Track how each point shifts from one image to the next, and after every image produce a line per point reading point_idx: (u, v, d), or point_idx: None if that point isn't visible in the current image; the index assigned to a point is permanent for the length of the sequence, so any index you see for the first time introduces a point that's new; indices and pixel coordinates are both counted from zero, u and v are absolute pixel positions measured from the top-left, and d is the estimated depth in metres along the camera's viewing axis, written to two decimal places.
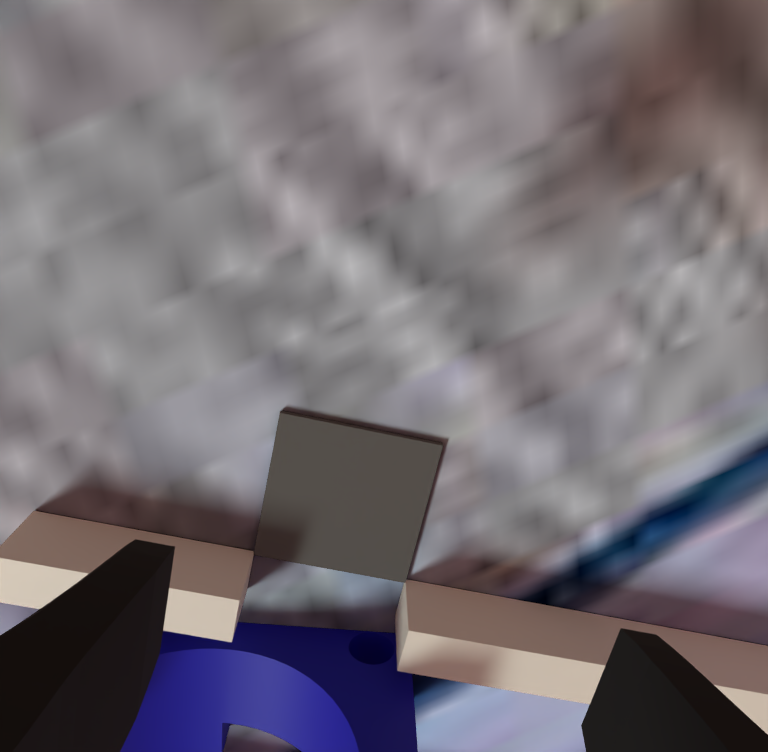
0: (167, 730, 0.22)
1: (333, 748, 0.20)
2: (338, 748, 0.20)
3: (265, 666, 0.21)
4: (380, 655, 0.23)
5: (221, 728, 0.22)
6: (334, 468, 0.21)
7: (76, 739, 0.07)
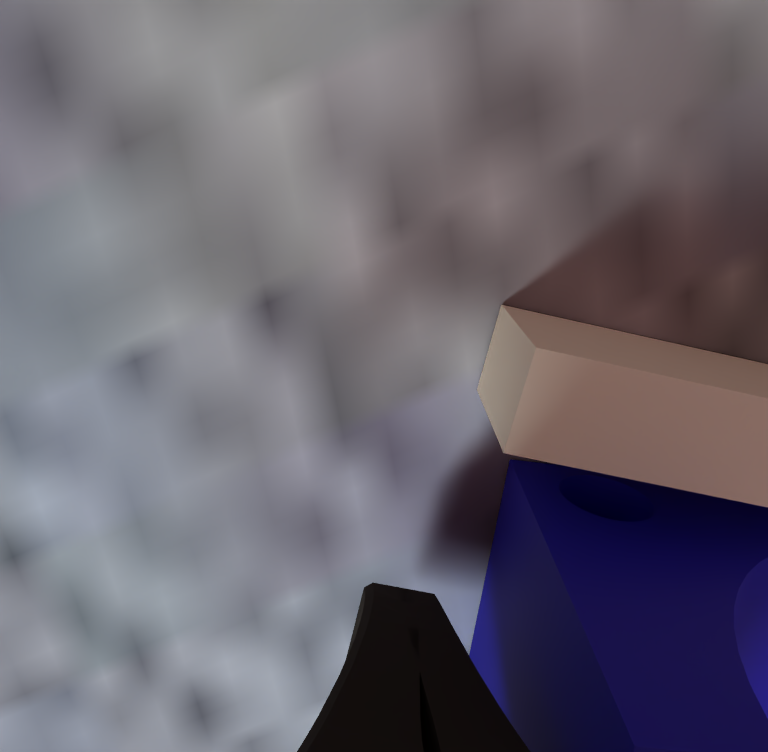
0: None
1: None
2: None
3: None
4: None
5: None
6: None
7: None
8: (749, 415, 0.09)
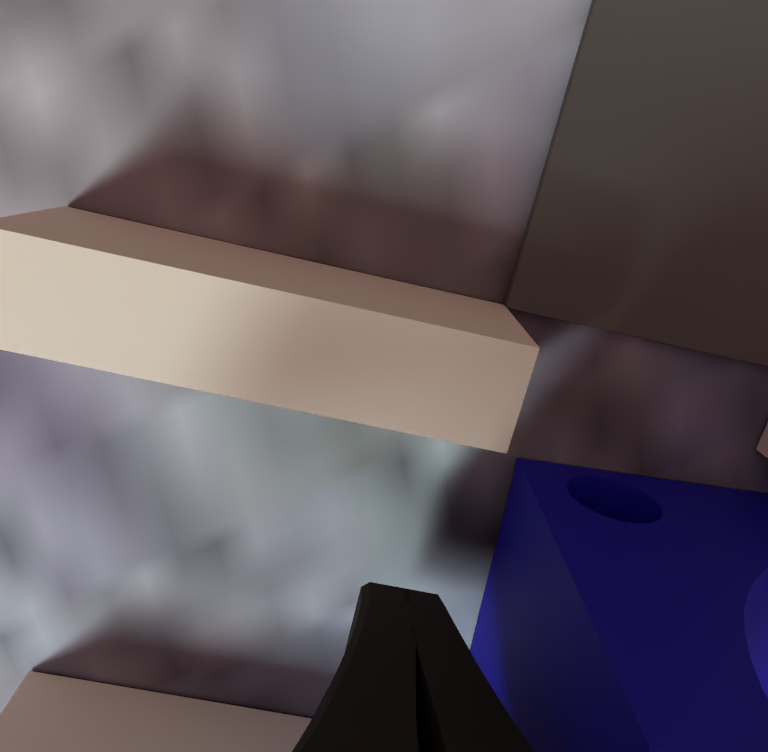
0: None
1: None
2: None
3: None
4: None
5: None
6: (701, 101, 0.10)
7: None
8: (221, 301, 0.08)
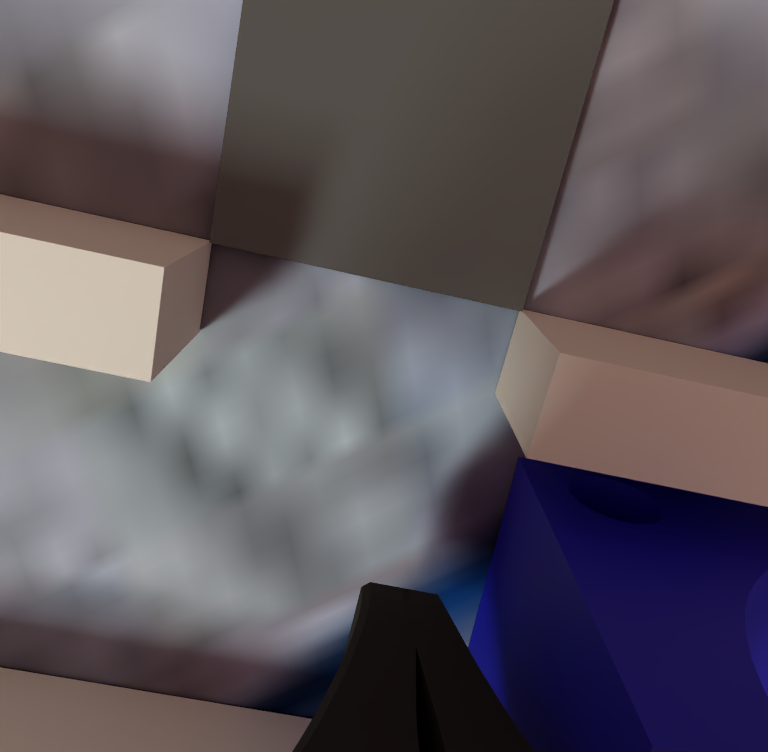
0: None
1: None
2: None
3: None
4: None
5: None
6: (381, 20, 0.09)
7: None
8: None
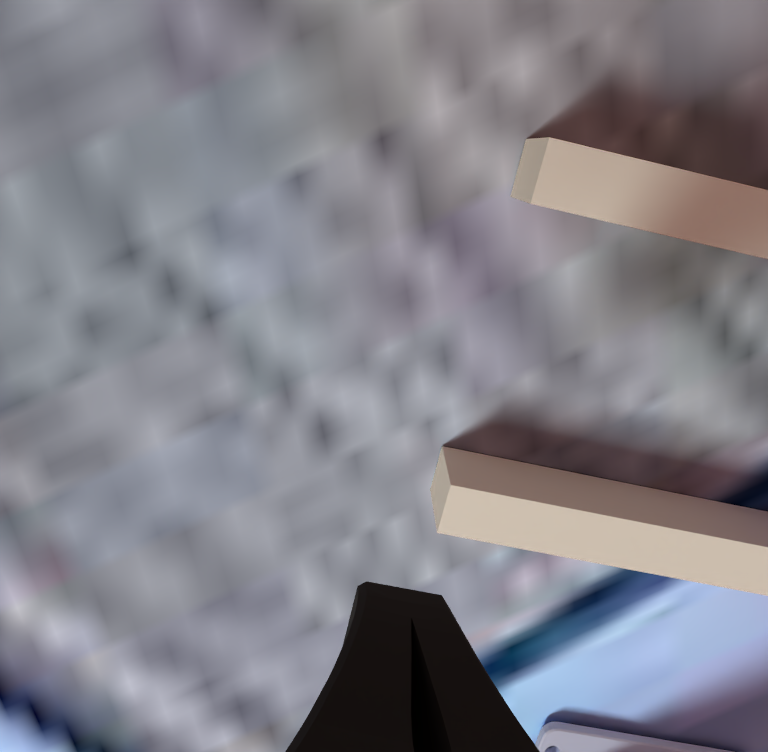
0: None
1: None
2: None
3: None
4: None
5: None
6: None
7: None
8: (669, 179, 0.16)
